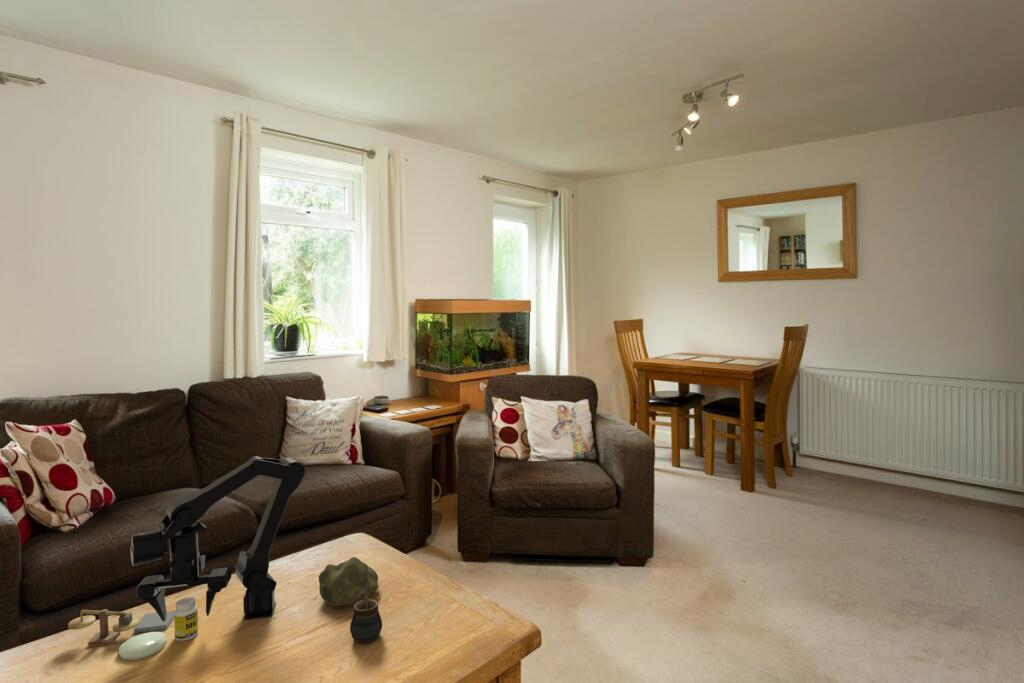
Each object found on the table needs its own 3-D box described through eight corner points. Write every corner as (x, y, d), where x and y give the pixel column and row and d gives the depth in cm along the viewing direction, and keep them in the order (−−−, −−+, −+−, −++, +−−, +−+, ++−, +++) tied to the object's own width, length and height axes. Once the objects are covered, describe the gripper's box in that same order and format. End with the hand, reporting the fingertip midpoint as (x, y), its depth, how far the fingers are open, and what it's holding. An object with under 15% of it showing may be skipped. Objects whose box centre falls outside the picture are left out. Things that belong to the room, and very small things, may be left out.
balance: (142, 629, 135) (141, 598, 134) (134, 641, 130) (132, 608, 129) (75, 638, 131) (74, 606, 131) (64, 650, 126) (62, 617, 126)
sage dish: (172, 634, 133) (171, 629, 133) (158, 656, 124) (158, 651, 124) (128, 640, 130) (128, 635, 130) (111, 663, 122) (111, 657, 122)
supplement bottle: (187, 642, 129) (186, 607, 129) (169, 640, 130) (168, 605, 130) (202, 631, 134) (201, 596, 134) (185, 629, 135) (184, 594, 134)
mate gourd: (353, 650, 126) (352, 607, 125) (347, 634, 132) (346, 592, 132) (385, 641, 129) (384, 599, 129) (377, 626, 136) (376, 585, 135)
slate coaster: (176, 613, 142) (176, 609, 142) (167, 628, 135) (166, 624, 135) (145, 617, 140) (145, 613, 140) (134, 633, 133) (133, 628, 133)
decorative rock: (387, 605, 149) (390, 569, 148) (327, 619, 140) (330, 581, 139) (368, 578, 161) (371, 544, 160) (311, 589, 152) (314, 554, 151)
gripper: (235, 535, 141) (237, 595, 142) (151, 543, 137) (154, 606, 137) (224, 553, 131) (226, 618, 131) (133, 563, 126) (136, 630, 127)
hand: (186, 617), depth 132 cm, fingers open, 9 cm apart
